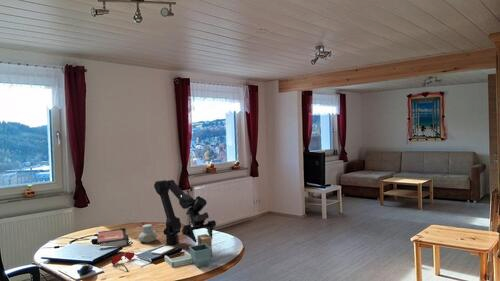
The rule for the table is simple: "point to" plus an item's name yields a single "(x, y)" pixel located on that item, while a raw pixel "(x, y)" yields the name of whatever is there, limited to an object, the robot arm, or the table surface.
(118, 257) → the glasses
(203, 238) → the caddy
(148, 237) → the air freshener
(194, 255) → the flower pot
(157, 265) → the table surface
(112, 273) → the table surface
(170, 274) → the table surface
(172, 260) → the bay
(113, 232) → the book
